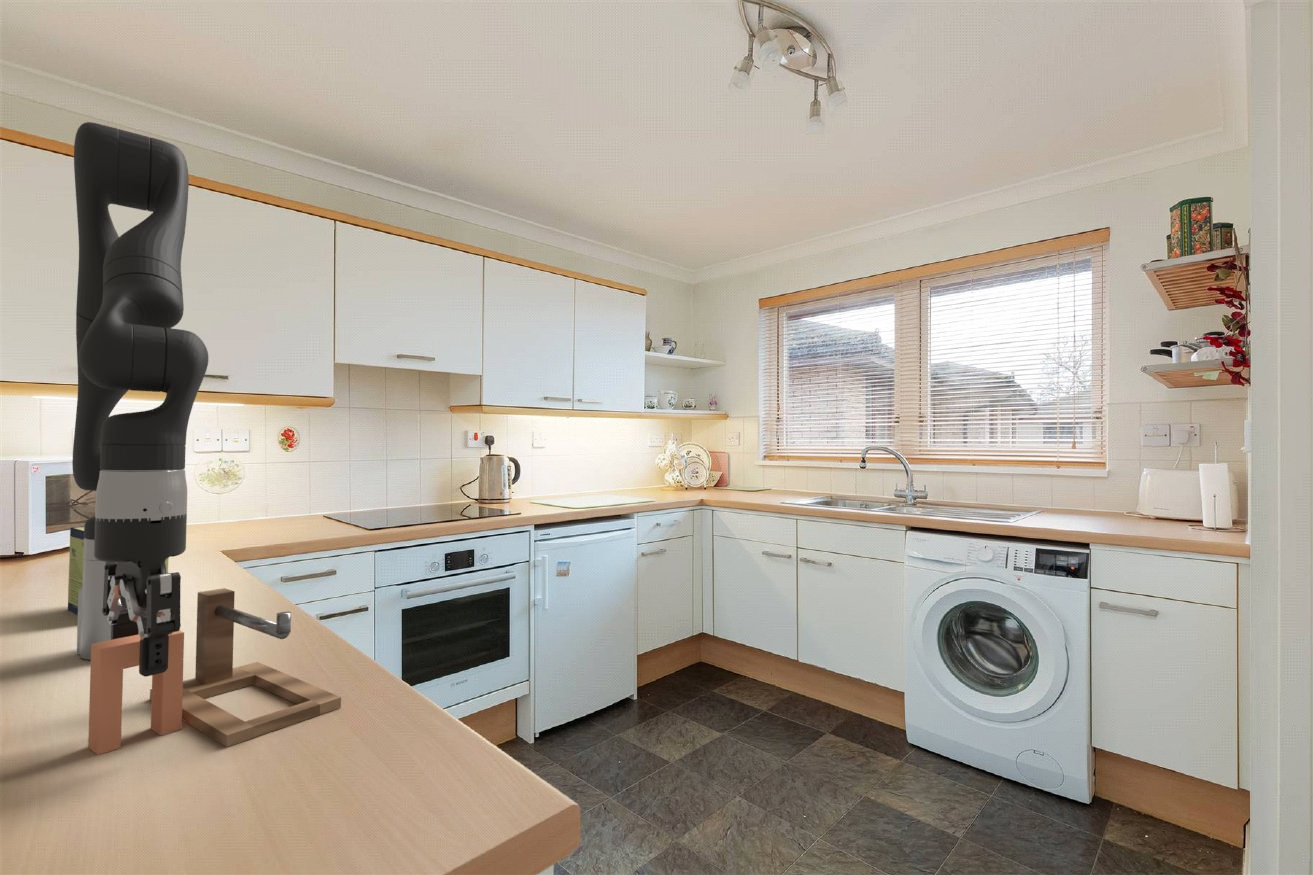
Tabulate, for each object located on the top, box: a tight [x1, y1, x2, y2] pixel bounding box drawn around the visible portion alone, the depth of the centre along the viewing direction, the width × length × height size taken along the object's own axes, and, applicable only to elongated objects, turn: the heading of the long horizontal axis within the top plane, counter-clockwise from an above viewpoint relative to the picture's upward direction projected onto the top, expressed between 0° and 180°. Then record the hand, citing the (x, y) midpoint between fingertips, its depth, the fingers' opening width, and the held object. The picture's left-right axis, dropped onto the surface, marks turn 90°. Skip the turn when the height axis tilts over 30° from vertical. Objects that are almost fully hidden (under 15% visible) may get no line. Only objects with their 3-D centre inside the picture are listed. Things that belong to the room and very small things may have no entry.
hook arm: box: [215, 605, 292, 640], centre depth 74 cm, size 17×1×3 cm, turn 56°
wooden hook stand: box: [149, 587, 342, 748], centre depth 75 cm, size 21×12×12 cm, turn 56°
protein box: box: [67, 525, 170, 615], centre depth 115 cm, size 10×16×16 cm
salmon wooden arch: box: [87, 629, 185, 756], centre depth 66 cm, size 7×3×10 cm, turn 146°
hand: (138, 665), depth 66 cm, fingers open, 8 cm apart
